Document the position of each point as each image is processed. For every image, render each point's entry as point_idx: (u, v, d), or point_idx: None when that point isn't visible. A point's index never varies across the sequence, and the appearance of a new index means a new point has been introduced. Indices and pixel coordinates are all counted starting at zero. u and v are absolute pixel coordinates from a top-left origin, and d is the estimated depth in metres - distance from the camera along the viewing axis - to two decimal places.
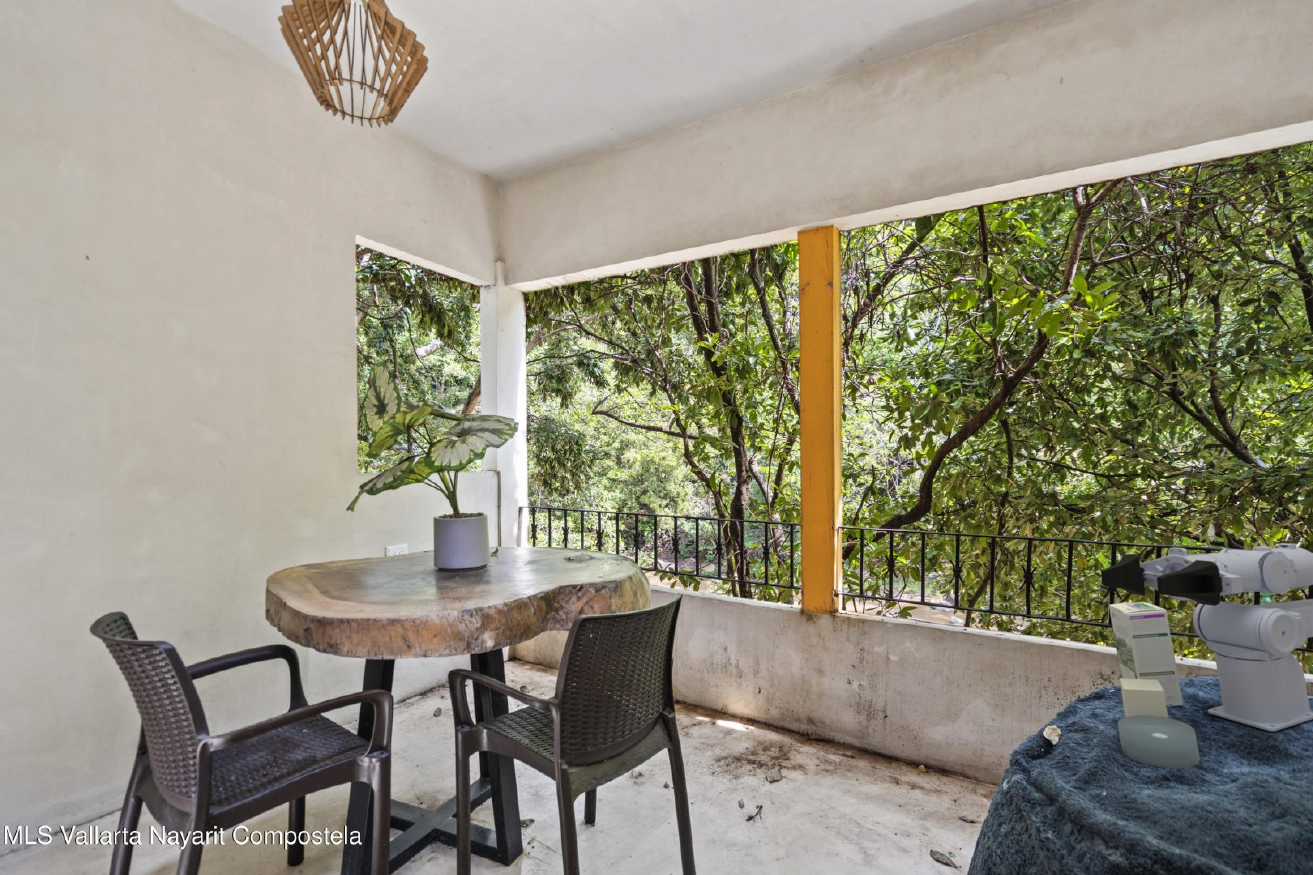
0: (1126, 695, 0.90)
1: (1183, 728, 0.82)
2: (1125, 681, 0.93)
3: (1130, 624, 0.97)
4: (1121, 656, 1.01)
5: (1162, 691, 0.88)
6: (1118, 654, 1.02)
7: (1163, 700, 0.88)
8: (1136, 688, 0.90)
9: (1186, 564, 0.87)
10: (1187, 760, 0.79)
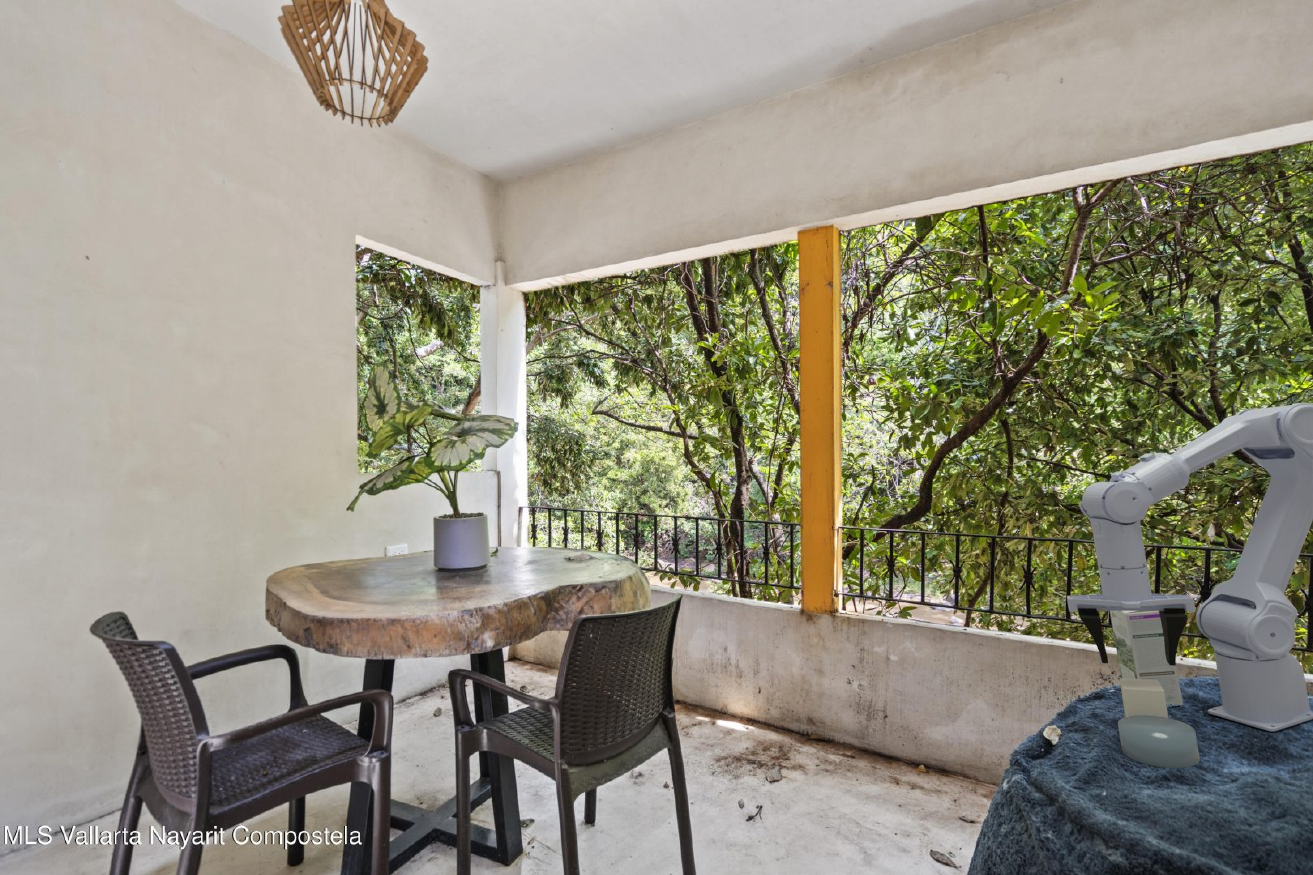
0: (1126, 695, 0.90)
1: (1183, 728, 0.82)
2: (1126, 681, 0.93)
3: (1130, 624, 0.97)
4: (1121, 656, 1.01)
5: (1162, 691, 0.88)
6: (1118, 654, 1.02)
7: (1163, 700, 0.88)
8: (1136, 688, 0.90)
9: None
10: (1187, 760, 0.79)
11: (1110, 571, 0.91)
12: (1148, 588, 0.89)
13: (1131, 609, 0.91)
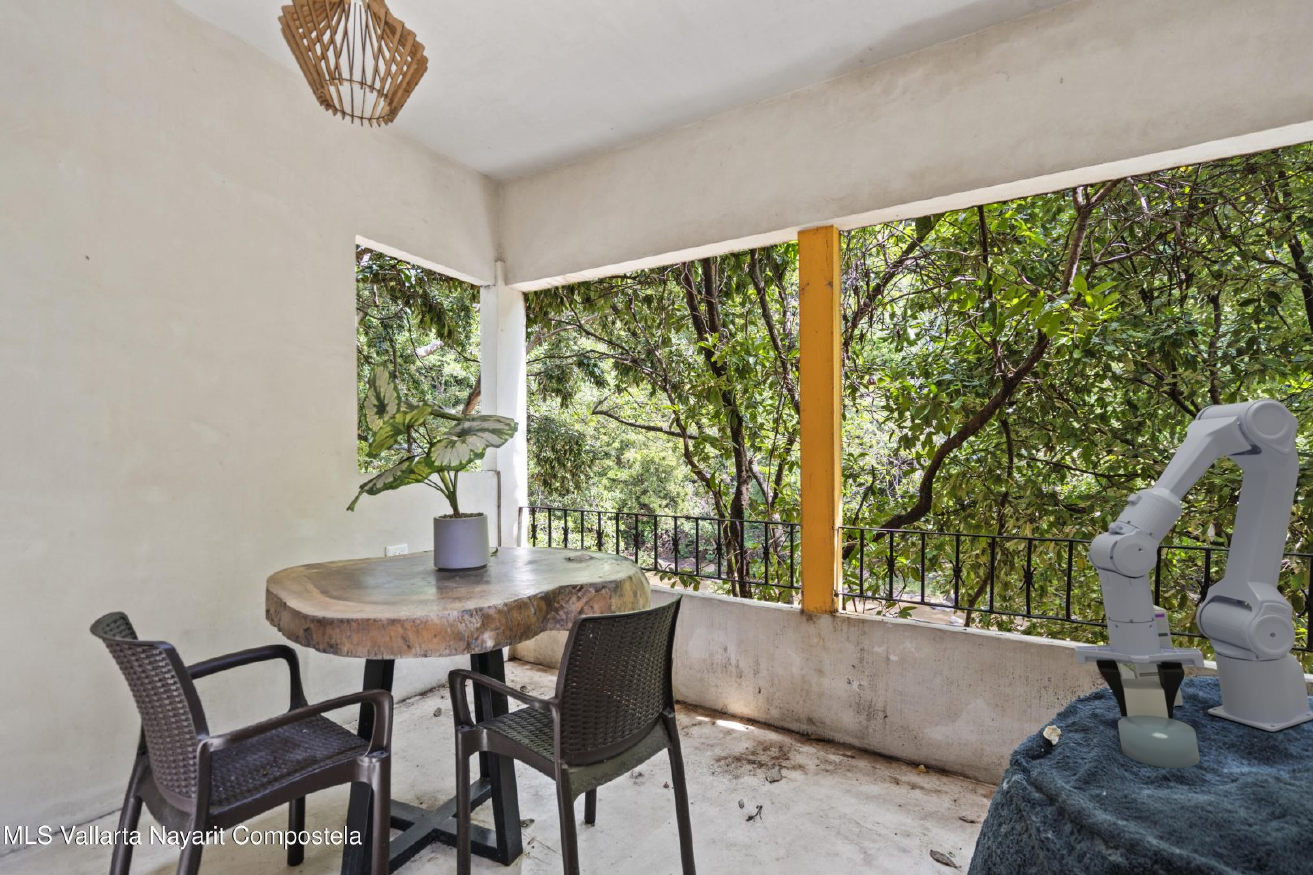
0: (1126, 695, 0.90)
1: (1183, 728, 0.82)
2: (1126, 681, 0.93)
3: None
4: None
5: (1162, 691, 0.88)
6: None
7: (1163, 700, 0.88)
8: (1136, 688, 0.90)
9: None
10: (1187, 760, 0.79)
11: (1118, 624, 0.90)
12: (1157, 642, 0.89)
13: None
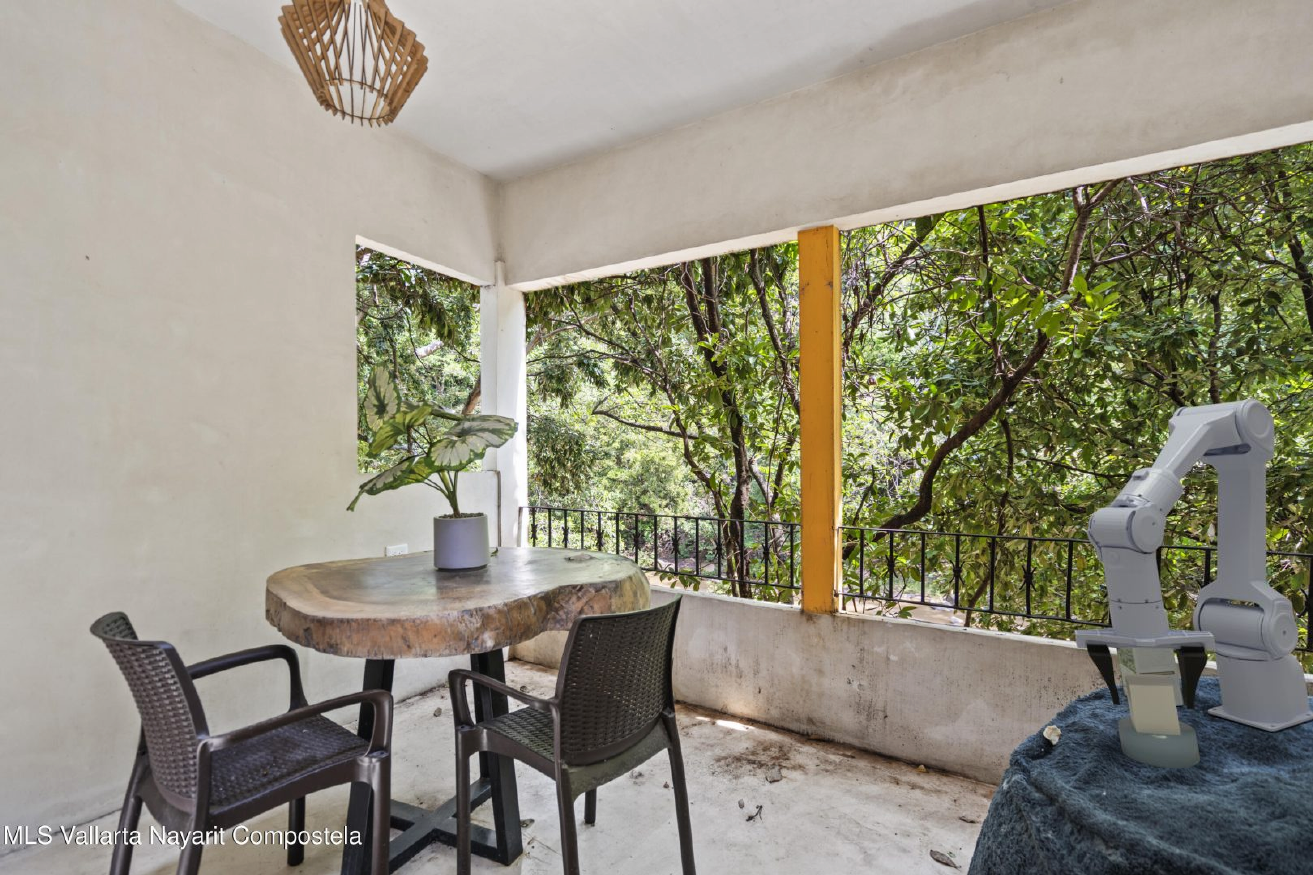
0: (1132, 691, 0.83)
1: (1183, 728, 0.82)
2: (1131, 676, 0.86)
3: None
4: (1121, 656, 1.01)
5: (1171, 687, 0.81)
6: (1118, 654, 1.02)
7: (1172, 697, 0.81)
8: (1142, 684, 0.83)
9: None
10: (1187, 760, 0.79)
11: (1122, 605, 0.83)
12: (1164, 624, 0.82)
13: (1145, 646, 0.84)
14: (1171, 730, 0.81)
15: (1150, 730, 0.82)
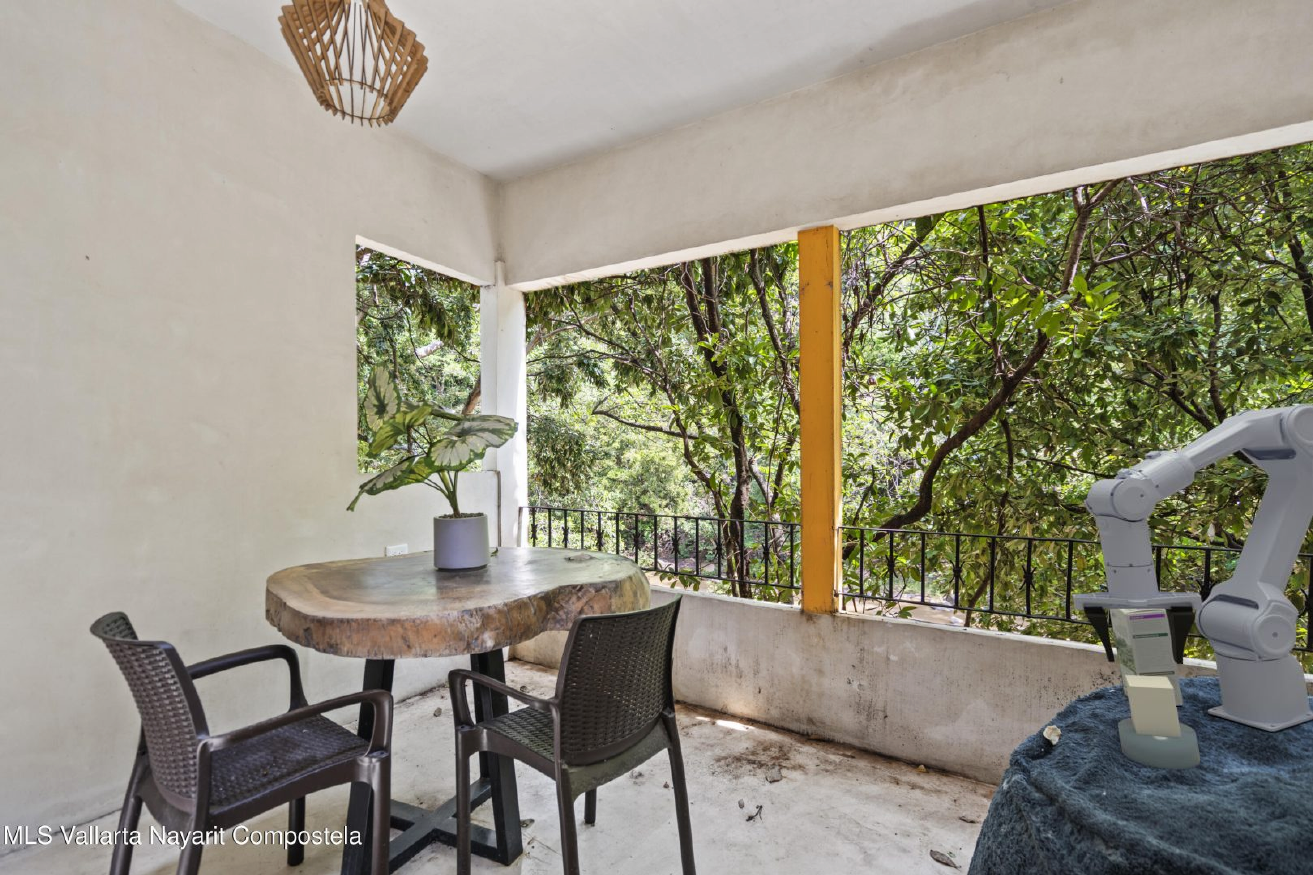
0: (1132, 693, 0.83)
1: (1184, 730, 0.82)
2: (1132, 678, 0.85)
3: (1130, 624, 0.97)
4: (1121, 656, 1.01)
5: (1172, 689, 0.81)
6: (1118, 654, 1.02)
7: (1173, 699, 0.81)
8: (1142, 686, 0.82)
9: None
10: (1187, 762, 0.79)
11: (1116, 569, 0.90)
12: (1155, 586, 0.89)
13: (1138, 607, 0.90)
14: (1171, 732, 0.81)
15: (1150, 732, 0.82)
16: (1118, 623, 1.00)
